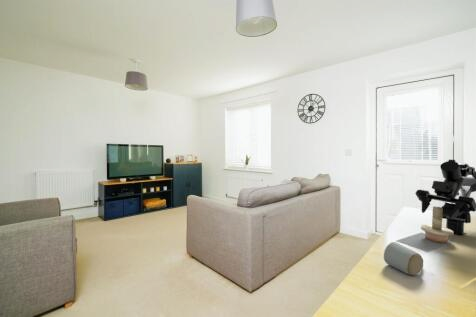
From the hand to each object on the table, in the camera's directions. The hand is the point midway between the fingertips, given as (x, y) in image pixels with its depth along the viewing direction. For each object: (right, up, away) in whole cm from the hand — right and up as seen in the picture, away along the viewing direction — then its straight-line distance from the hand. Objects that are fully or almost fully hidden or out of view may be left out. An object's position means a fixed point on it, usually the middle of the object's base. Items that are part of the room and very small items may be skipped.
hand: (435, 215), depth 92 cm
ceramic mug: (-27, -13, -19) cm, 36 cm away
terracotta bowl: (+1, -10, +1) cm, 11 cm away
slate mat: (-5, -11, 0) cm, 12 cm away
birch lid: (+1, -7, +1) cm, 7 cm away
